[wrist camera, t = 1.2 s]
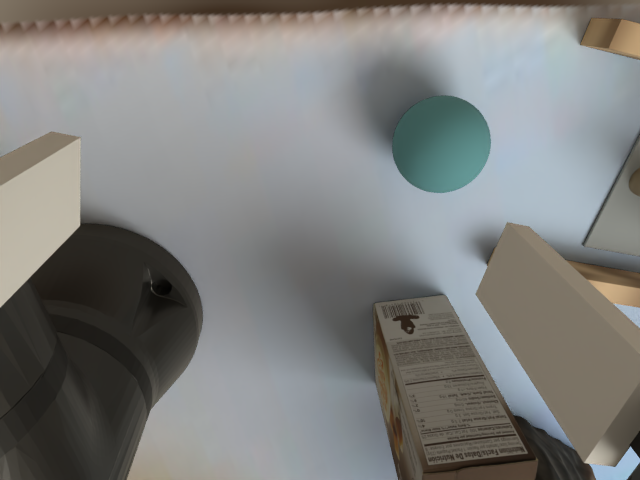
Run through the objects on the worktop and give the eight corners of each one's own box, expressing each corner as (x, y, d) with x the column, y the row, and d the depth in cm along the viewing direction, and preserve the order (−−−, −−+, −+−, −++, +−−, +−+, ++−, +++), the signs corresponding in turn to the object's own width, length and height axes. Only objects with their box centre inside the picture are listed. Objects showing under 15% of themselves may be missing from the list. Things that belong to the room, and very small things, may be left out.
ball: (374, 166, 33) (391, 197, 28) (398, 79, 30) (421, 95, 25) (453, 182, 34) (484, 214, 28) (483, 99, 31) (523, 117, 26)
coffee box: (444, 376, 42) (524, 566, 28) (374, 384, 42) (417, 578, 28) (447, 291, 38) (542, 462, 24) (369, 300, 38) (418, 476, 24)
